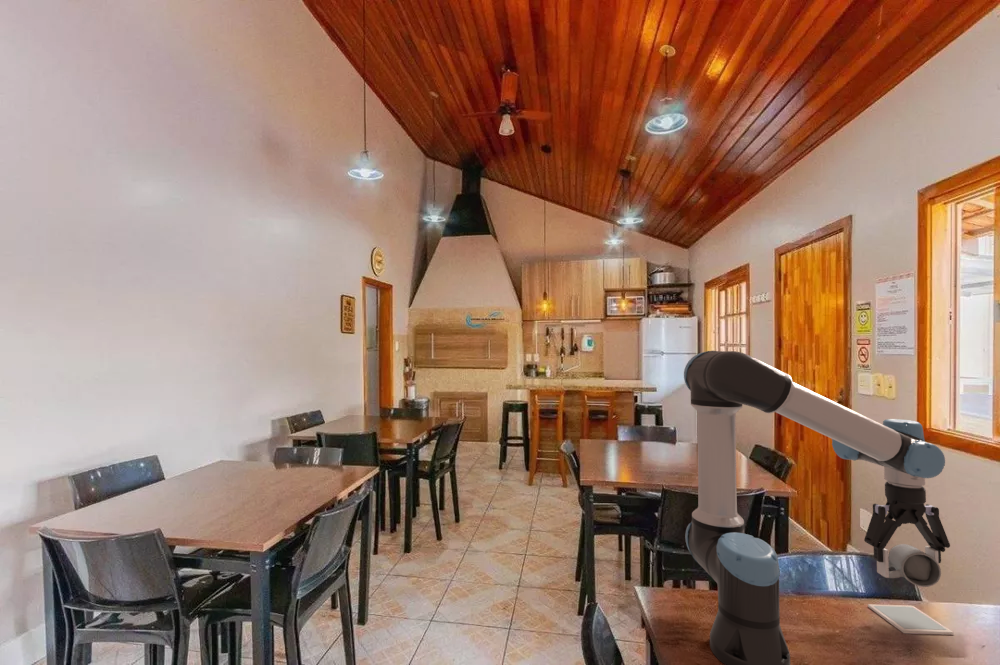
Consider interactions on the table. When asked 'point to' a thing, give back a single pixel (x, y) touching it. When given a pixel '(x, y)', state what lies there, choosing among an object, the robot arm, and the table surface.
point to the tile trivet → (910, 619)
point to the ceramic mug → (913, 565)
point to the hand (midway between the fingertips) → (907, 575)
